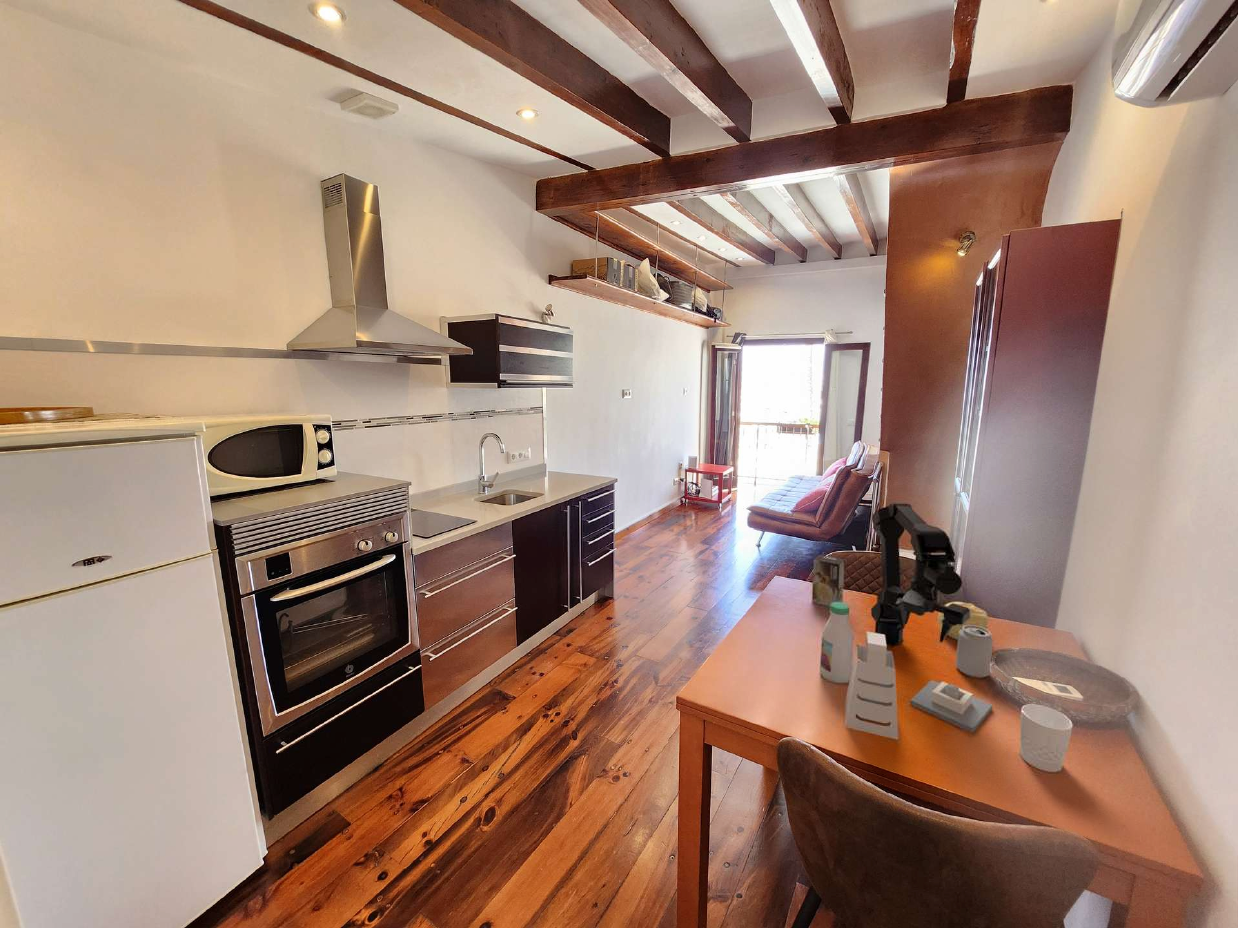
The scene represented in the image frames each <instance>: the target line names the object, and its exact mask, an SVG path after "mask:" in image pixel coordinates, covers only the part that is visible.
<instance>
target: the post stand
mask: <svg viewBox="0 0 1238 928" xmlns="http://www.w3.org/2000/svg"><path fill="white" fill-rule="evenodd" d="M940 683H941V682H938V681H936V680H933V679H931V680H930V681H929V682H928V683H927V684H926V685H924V687H923V688H921V690H919V691H918V692H917V693H916V694H915V695H914V696H913V697H912V698H911V699H910V700H909V705H911V706H913V707H915V708H917V709H920V710H921V711H923V712H925V713H927V714H930V715H932V716H934V717H936V718H939V719H940V720H943V721H945V722H948V723H949V724H952V725H954V726H956V727H958V728H960V729H961V730H962V729H963V730H965V731H966V732H968V733H972V734H973V733H974V732H975V731H976V730H977V728H978V727H979V726H980V725H981V724H982V722H983V721H985V719H986V718H987V716H988V715H989V714H990V712H992V710H993V706H994V705H993V704H992V703H990V702H987V701H985V700H982V699H979V698H977V697H975V696H972V704H971V705H970V706H969V707H968V708H967V709H966V710H965V711H964V712H963V714H959V713H957V712H955V711H952V710H950V709H948V708H946V707H943V706H941V705H939V704H937V703H934V702H932V701H931V696H932V691H933V690H934V689H935V688H936V687H937V686H938V685H939V684H940ZM958 691H959V687H958V686H957V685H955V684H952V683H947V687H946V695H947V696H950V697H952V698H954V699H957V700H958Z"/></svg>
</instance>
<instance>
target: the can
mask: <svg viewBox="0 0 1238 928" xmlns="http://www.w3.org/2000/svg"><path fill="white" fill-rule="evenodd" d="M993 646H994V638H993V636H992V632H991V631H989V630H988V628H987V629H985V628H982V627H979V626H974V625H965V626H963V627H962V630H960V631H959V638H958V640H957V648H956V649H957V650H956V658H955V666H956V668H957V669H958V670H959V671H960V672H961V673H962V674H964V675H967V676H969V677H973V678H977V679H979V678H980V679H983V678H986V677H988V676H989V675H990V671H991V665H990V663H991V664H992V656H993V655H992V654H993V649H994V647H993Z"/></svg>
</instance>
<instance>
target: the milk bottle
mask: <svg viewBox="0 0 1238 928" xmlns="http://www.w3.org/2000/svg"><path fill="white" fill-rule="evenodd" d="M829 613H830V615H829V617H828V620H827V622H826V623H825V625H824V627H823V629H822V633H821V634H822V635H821V646H820V648H821V649H820V664H819V672H820V675H821V676H822V677H823V678H824V679H825V680H827V681H828V682H830V683H836V684H846V683H849V682H850V677H851V672H852V667H853V662H854V645H855V644H854V640H855V639H854V632H853V629H852V627H851V624H850V622H849V616H850V606H849V605H848V604H846V603H845V602H843V603H841V602H833V603H831V604H830V607H829Z"/></svg>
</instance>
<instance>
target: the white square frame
mask: <svg viewBox="0 0 1238 928" xmlns="http://www.w3.org/2000/svg"><path fill="white" fill-rule="evenodd" d="M939 683H940V684H939V685H938V686H937V687H936V688H935V689H934V690H933V691H932V696H931V701H932V702H934V703H937V704H939V705H941V706H943V707H946V708H948V709H950V710H952V711H955V712H957V713H959V714H963V712H964V711H965V710H966V709H967V708H968V707H969V706H970V705H971V704H972V696H973V693H972V692H969V691H967V690H964V689H962V688H959V687H958V688H959V691H958V700H957V699H954V698H952V697H950V696H947V695H946V687H947V684H948V683H947V682H945V681H942V682H939ZM973 697H974V696H973Z"/></svg>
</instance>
